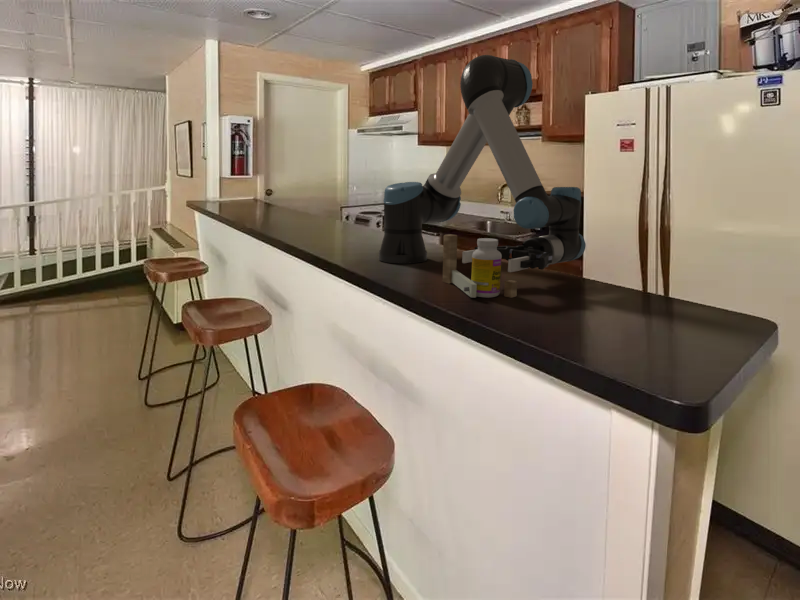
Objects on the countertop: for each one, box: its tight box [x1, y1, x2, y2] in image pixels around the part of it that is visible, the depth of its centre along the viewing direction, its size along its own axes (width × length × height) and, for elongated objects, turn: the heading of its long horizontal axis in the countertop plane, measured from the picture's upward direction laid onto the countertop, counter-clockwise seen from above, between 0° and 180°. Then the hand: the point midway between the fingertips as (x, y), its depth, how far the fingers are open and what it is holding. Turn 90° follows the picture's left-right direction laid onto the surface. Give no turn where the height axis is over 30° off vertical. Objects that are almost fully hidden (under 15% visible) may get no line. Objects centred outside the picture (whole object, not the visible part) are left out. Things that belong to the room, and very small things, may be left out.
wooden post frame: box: [442, 233, 518, 299], centre depth 128 cm, size 22×2×12 cm, turn 41°
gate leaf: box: [451, 269, 477, 299], centre depth 127 cm, size 16×2×3 cm, turn 10°
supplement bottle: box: [470, 237, 503, 299], centre depth 122 cm, size 7×7×13 cm
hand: (485, 261), depth 121 cm, fingers open, 13 cm apart
